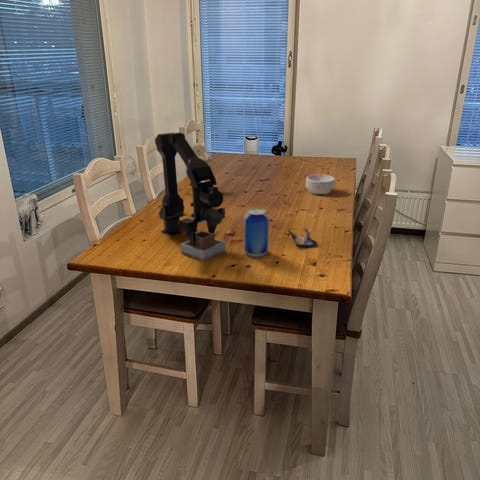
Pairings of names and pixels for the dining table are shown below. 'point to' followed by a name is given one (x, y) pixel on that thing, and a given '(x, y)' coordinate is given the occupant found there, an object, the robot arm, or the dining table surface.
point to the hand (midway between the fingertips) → (202, 241)
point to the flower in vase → (200, 153)
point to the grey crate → (202, 254)
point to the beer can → (256, 232)
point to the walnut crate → (204, 240)
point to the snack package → (304, 239)
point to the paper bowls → (320, 184)
